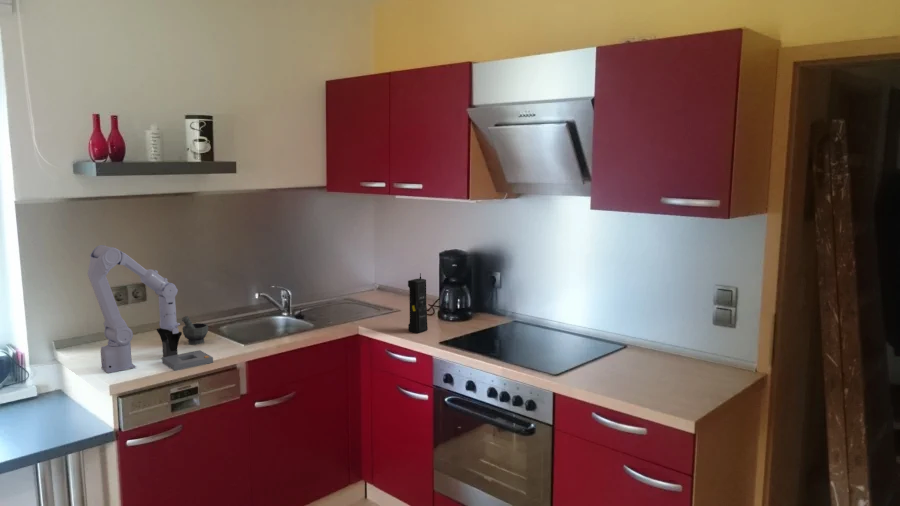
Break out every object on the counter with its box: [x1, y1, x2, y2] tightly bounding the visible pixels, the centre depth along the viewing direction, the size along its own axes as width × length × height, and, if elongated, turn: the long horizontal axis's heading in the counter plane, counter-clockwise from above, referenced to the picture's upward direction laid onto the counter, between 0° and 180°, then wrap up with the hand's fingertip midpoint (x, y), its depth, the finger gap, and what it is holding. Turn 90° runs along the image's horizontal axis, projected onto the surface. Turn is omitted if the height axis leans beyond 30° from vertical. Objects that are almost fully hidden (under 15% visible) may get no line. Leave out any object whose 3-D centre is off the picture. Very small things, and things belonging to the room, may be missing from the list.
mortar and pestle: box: [181, 315, 209, 346], centre depth 266 cm, size 11×9×12 cm
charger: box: [161, 339, 178, 357], centre depth 248 cm, size 4×4×7 cm
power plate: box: [161, 349, 214, 371], centre depth 241 cm, size 14×12×2 cm
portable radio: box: [407, 273, 429, 334], centre depth 284 cm, size 8×6×25 cm
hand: (170, 348), depth 248 cm, fingers open, 7 cm apart
